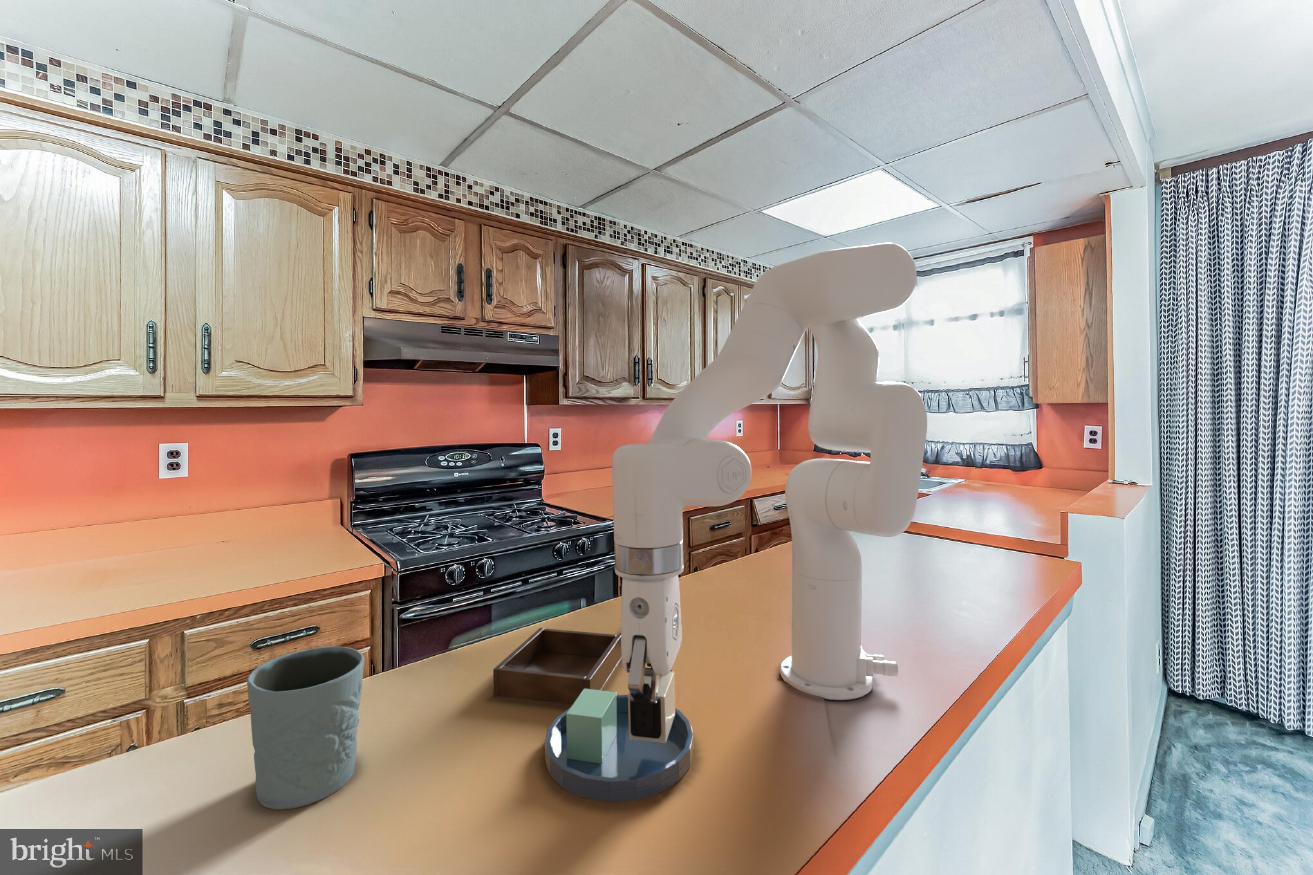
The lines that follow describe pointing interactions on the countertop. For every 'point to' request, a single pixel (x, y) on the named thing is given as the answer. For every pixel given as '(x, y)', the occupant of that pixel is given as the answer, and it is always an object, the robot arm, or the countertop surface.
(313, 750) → the grey embossed cup
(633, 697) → the robot arm
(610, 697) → the green block
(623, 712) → the blue round tray
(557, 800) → the countertop surface
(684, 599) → the countertop surface
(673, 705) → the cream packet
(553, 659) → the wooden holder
